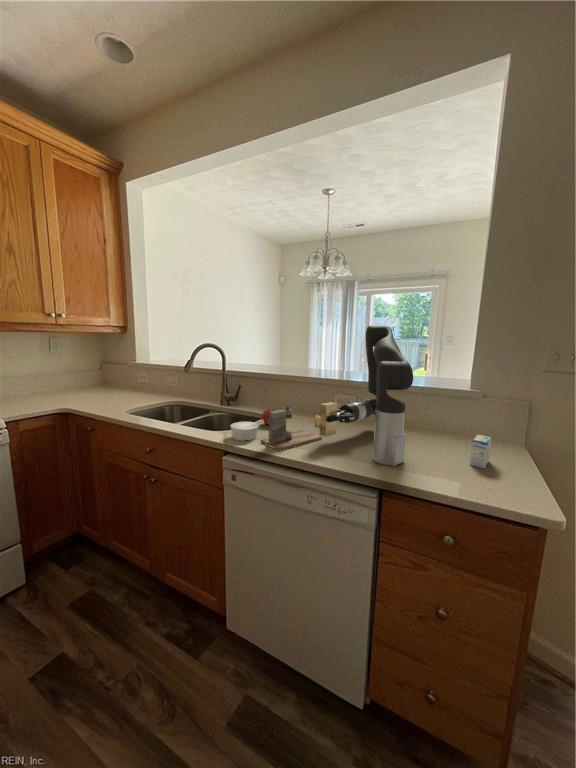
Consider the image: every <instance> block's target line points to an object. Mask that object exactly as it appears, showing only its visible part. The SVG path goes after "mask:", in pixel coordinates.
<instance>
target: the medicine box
mask: <svg viewBox="0 0 576 768" xmlns="http://www.w3.org/2000/svg"><path fill="white" fill-rule="evenodd" d="M491 447H492V437H491V436H486V435H483V434H482V435H481V434H476V436H475V437H474V439H473V440H472V444H471V453H470V462H469V465H470V466H473V467H478V468H480V469H486V467H487V465H488V463H489V461H490V454H491V449H492V448H491Z"/></svg>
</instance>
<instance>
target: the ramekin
mask: <svg viewBox="0 0 576 768" xmlns="http://www.w3.org/2000/svg"><path fill="white" fill-rule="evenodd" d="M230 429H231V435H232V438H233V439H234V440H235V439H236V440H235V441H238V440H249V441H253V440H255V439H256V438H257V435H258V430H259V424H258V423H256V422H253V421H238V422H233V423H231V424H230ZM254 438H255V439H254ZM252 439H253V440H252Z"/></svg>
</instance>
